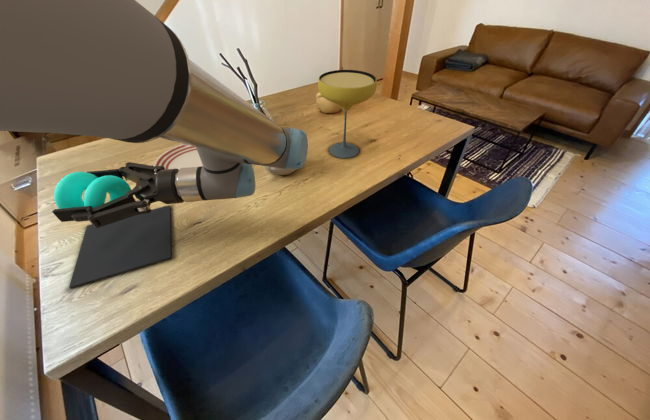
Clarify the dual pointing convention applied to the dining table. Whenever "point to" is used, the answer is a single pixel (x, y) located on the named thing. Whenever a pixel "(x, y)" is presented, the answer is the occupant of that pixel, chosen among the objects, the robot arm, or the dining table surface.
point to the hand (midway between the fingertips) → (74, 195)
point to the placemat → (123, 246)
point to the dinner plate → (179, 157)
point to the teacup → (279, 170)
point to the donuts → (88, 190)
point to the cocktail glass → (346, 98)
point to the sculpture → (326, 104)
